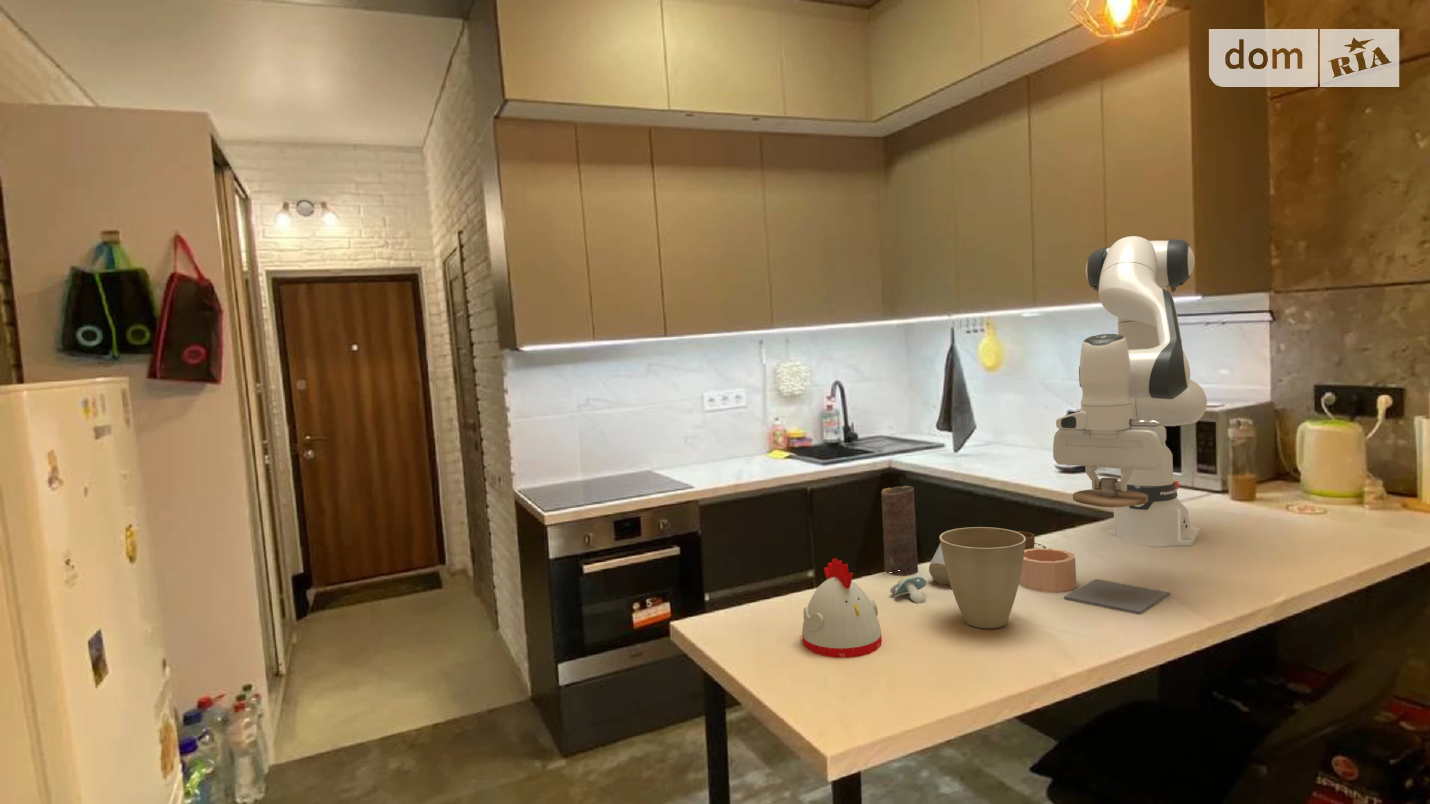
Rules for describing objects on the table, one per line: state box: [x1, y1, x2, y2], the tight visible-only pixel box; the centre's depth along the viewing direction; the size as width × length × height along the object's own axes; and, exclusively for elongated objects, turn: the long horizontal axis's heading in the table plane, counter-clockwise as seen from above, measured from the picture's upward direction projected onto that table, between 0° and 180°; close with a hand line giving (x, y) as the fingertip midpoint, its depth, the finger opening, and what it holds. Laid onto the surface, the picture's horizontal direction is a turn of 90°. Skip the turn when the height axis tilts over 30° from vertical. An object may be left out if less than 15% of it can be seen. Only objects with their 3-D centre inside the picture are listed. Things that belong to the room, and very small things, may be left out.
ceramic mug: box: [928, 543, 951, 586], centre depth 163 cm, size 11×8×8 cm
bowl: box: [1019, 547, 1077, 593], centre depth 161 cm, size 11×11×6 cm
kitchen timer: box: [801, 557, 883, 659], centre depth 137 cm, size 14×14×15 cm
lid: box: [1072, 477, 1148, 508], centre depth 149 cm, size 13×13×5 cm
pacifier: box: [889, 575, 927, 604], centre depth 156 cm, size 7×6×6 cm
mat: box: [1063, 578, 1171, 615], centre depth 150 cm, size 14×14×1 cm
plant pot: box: [938, 526, 1026, 629], centre depth 141 cm, size 15×15×16 cm
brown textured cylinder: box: [881, 485, 919, 577], centre depth 172 cm, size 8×7×20 cm
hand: (1109, 490), depth 149 cm, fingers closed on lid, 3 cm apart
